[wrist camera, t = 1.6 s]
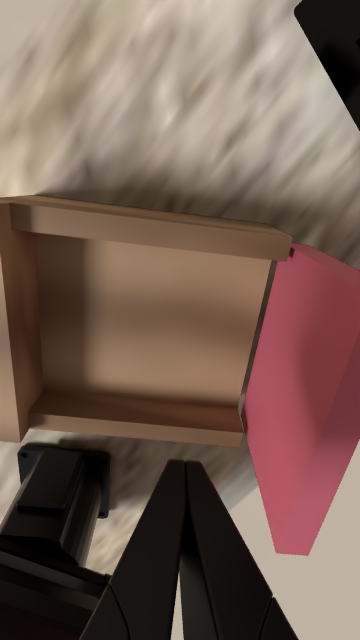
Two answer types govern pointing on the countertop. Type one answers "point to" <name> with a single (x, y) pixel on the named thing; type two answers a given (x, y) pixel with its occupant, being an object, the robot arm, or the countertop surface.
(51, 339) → the brown wooden drawer
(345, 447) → the panel
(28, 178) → the countertop surface
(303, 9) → the black boxy piece
